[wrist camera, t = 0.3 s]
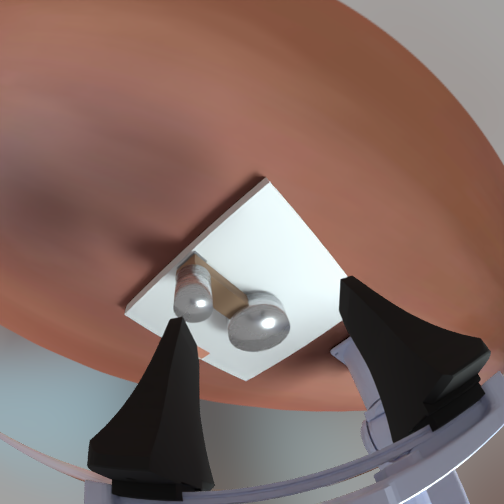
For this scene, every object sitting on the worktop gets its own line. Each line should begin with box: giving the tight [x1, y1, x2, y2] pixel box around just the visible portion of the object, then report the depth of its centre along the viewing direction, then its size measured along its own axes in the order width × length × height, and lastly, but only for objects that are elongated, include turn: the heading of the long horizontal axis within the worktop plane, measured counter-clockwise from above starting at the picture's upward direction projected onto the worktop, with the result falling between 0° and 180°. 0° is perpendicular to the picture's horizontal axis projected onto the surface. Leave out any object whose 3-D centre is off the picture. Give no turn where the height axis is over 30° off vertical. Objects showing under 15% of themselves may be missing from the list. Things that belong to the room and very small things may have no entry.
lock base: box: [124, 177, 348, 381], centre depth 24 cm, size 16×16×1 cm
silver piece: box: [173, 254, 290, 352], centre depth 20 cm, size 11×5×4 cm, turn 40°
